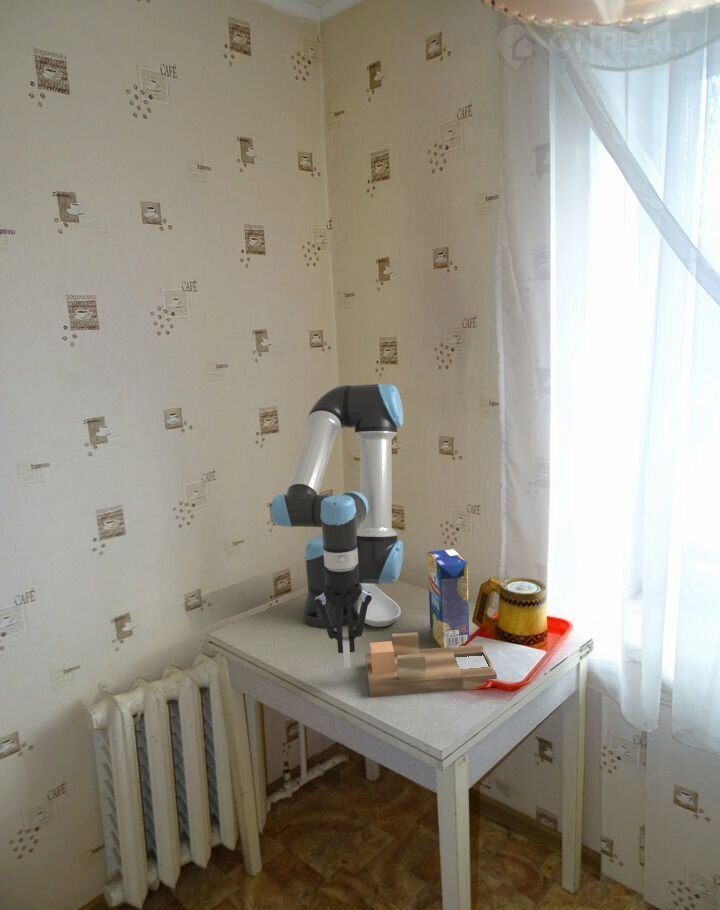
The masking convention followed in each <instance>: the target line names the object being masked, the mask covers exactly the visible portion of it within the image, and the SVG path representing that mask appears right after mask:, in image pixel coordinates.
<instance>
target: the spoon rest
mask: <svg viewBox="0 0 720 910" xmlns="http://www.w3.org/2000/svg"><path fill="white" fill-rule="evenodd" d="M359 584H360V586H361V587H362V590H363V591H365V592H370V593H371V596H372V600H371V601H370V603H369V605H368V607H367V612H366V617H365V622H364V624H366V625H368V626H371V627H376V628H381V627H387V626H390V625H392V624H393V623H395V622H396V621H397V620H398V619H399V618H400V616H401V613H402V611H401V608H400V606H399V604H398V603H397V602H395V601H394V600H393V599H392V598H391V597H389V596H388V595H387V594H386V593H385V592H383V591H382V590H381V589H380V588H379V587H377V585H376V584H364V583H359ZM357 600H358V602H357V614H358V615H357V616H359V612H360V607H361V602H362V601H361V595H360V596H359V598H358V599H357Z"/></svg>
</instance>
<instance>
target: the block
mask: <svg viewBox="0 0 720 910" xmlns="http://www.w3.org/2000/svg"><path fill="white" fill-rule="evenodd" d="M369 649H370V650H369V651H370V653H371V666H372V673H373V674H376V673H389V672H395V664H394V650H393V642H392V640H389V641H388V640H387V641H377V642H369Z"/></svg>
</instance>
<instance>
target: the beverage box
mask: <svg viewBox="0 0 720 910" xmlns="http://www.w3.org/2000/svg"><path fill="white" fill-rule="evenodd" d="M427 567H428V568H427V569H428V571H427V572H428V595H429V596H428V598H429V599H428V600H429V602H428V605H429V625H430V626H429V629H430V630H429V632H430V634H431V635H432V636H433V638H434V640H435V641H436V642H437V644H438V645H439V648H447V647H459V646H460V645H461V644H463V643H465V642H466V641H467V640H469V641H470V617H469V616H470V615H469V614H470V613H469V612H470V611H469V609H470V608H469V572H468V571H469V569H468V562H467V561H466V560H465V559H464V558H463V557H462V556H461V554H459V553H458V552H457V551H456V550H455V549H454V548H449V549H442V550H432V551H427Z"/></svg>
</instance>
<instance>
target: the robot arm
mask: <svg viewBox="0 0 720 910" xmlns="http://www.w3.org/2000/svg"><path fill="white" fill-rule="evenodd" d="M403 425H404V411H403V404H402V399H401V395H400V392H399V390H398V388H397V387H396V385H393V384H383V383H377V384H376V383H374V384H357V385H355V384H354V385H349V384H348V385H340V386H337V387H333V388H332V389H330V390H328V391H327V392H325V393H324V394H323V395H322V396H321V397H320V398H319V399H318V400H317V401H316V402H315V403H314V405H313V406H312V408H311V409H310V411H309V414H308V417H307V420H306V427H307V431H306V434H305V437H304V440H303V443H302V445H301V448H300V452H299V454H298V458H297V461H296V465H295V467H294V471H293V473H292V476H291V480H290V482H289V486H288V489H287V491H286V493H285V494H284V493H282V494H277V495H276V496H275V497H273V499H272V503H271V518H272V521H273V522H274V524H275V525H277V526H278V527H279V526H280V527H287V528H293V527H296V528H297V527H298V528H300V527H303V528H306V527H307V528H312V527H313V528H321V533H322V534H320V535H317V536H315V537H312V538H310V539H309V540H307V542H306V544H305V556H304V559H305V569H306V570H305V571H306V580H307V581H306V584H307V594H306V599H305V603H304V607H303V621H304V622H305V623H306V624H307V625H309V626H311V627H312V626H313V627H317V628H323V629H324V628H326V632H327V634H328V635H327V636H328V638H329V639H331V640H333V639H335V640H336V642H337V643H336V644H337V652H338V654H343V655H342V656H343V668H344V669H351V653H355V651H356V647H355V639H356V638H359V637H362V635H363V632H364V626H365V623H364V622H365V617H366V612H367V607H368V605H369V603H370V601H371V600H372V596H371V593H370V592H365V591H363V590H362V587H361V586H360V584H359V583H364V584H374V585H378V586H381V585H392V584H395V583H396V582H397V581H398V579H399V577H400V574H401V571H402V566H403V559H404V543H403V541H401V540H400V539H399V540H398V533H397V531H396V530H394V529H393V527H392V525H393V524H392V521H393V520H392V516H393V515H392V514H393V513H392V511H393V510H392V509H393V508H392V507H393V505H392V503H393V502H392V501H393V500H392V495H393V494H392V491H393V490H392V481H393V479H392V466H393V465H392V464H393V463H392V462H393V461H392V459H393V456H392V452H393V450H392V449H393V448H392V441H393V439H394V438H395V437H396V436H397V434H398V428H401V427H402V426H403ZM344 428H345V429H346V428H348V429H349V428H350V429H352V428H353V429H354V436H356V437H357V438H358V439H359V441H360V442H359V443H360V444H359V449H360V450H359V453H360V455H359V456H360V457H359V459H360V460H359V462H360V463H359V471H360V473H359V477H360V479H359V488H360V489H359V492H358V491H356V490H355V491H354V490H351V491H350V490H349V491H346V492H344V493H343V494H320V490H321V487H322V483H323V481H324V480H323V479H324V477H325V474H326V470H327V466H328V463H329V460H330V455H331V452H332V450H333V447H334V446H333V445H334V442H335V439H336V437H337V436H338V435H340V434H341V431H342V429H344ZM358 528H359V529H358ZM357 529H358V530H357ZM360 595H361V601H362V602H361V607H360V612H359V615H358V613H357V606H358V604H357V603H356V602H357V599H358V598H359V596H360ZM358 600H359V599H358ZM357 618H358V619H357ZM356 619H357V624H356V628H355V629H354V627H355V626H354V621H355V620H356ZM346 625H347V630H348V631H347V632H348V634H347V635H343V627H342V626H346ZM334 628H336V630H334Z"/></svg>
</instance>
